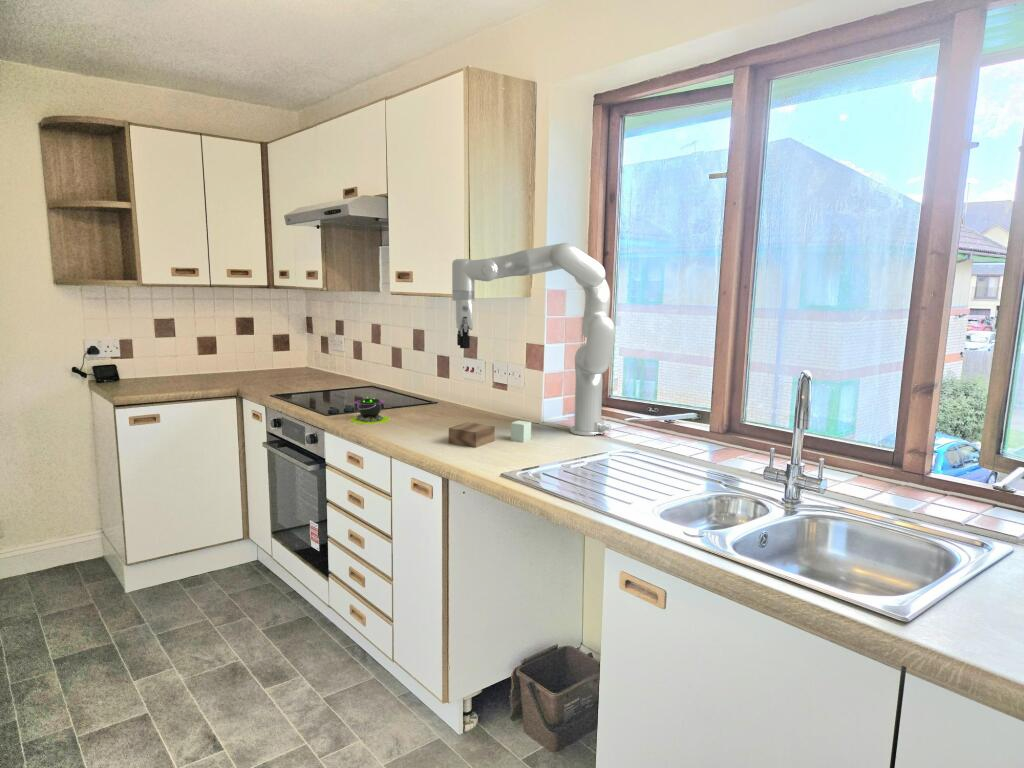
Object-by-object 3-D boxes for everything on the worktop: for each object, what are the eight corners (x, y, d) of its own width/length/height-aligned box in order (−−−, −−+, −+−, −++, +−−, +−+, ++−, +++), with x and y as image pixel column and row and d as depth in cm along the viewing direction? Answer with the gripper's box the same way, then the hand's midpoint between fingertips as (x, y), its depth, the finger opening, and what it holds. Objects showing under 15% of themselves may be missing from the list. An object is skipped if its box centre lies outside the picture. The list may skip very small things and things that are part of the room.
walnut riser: (494, 440, 225) (494, 426, 224) (475, 447, 216) (476, 432, 215) (468, 436, 231) (468, 422, 230) (448, 442, 221) (448, 428, 221)
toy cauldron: (342, 419, 256) (341, 391, 254) (376, 414, 266) (376, 387, 264) (362, 426, 245) (362, 396, 243) (397, 420, 255) (397, 392, 253)
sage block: (531, 439, 228) (531, 422, 227) (523, 442, 224) (523, 424, 223) (518, 437, 230) (518, 420, 229) (510, 440, 226) (511, 422, 225)
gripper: (477, 297, 217) (477, 349, 220) (471, 295, 234) (471, 344, 237) (454, 297, 216) (454, 349, 218) (450, 295, 233) (450, 344, 235)
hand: (463, 346), depth 227 cm, fingers open, 9 cm apart
